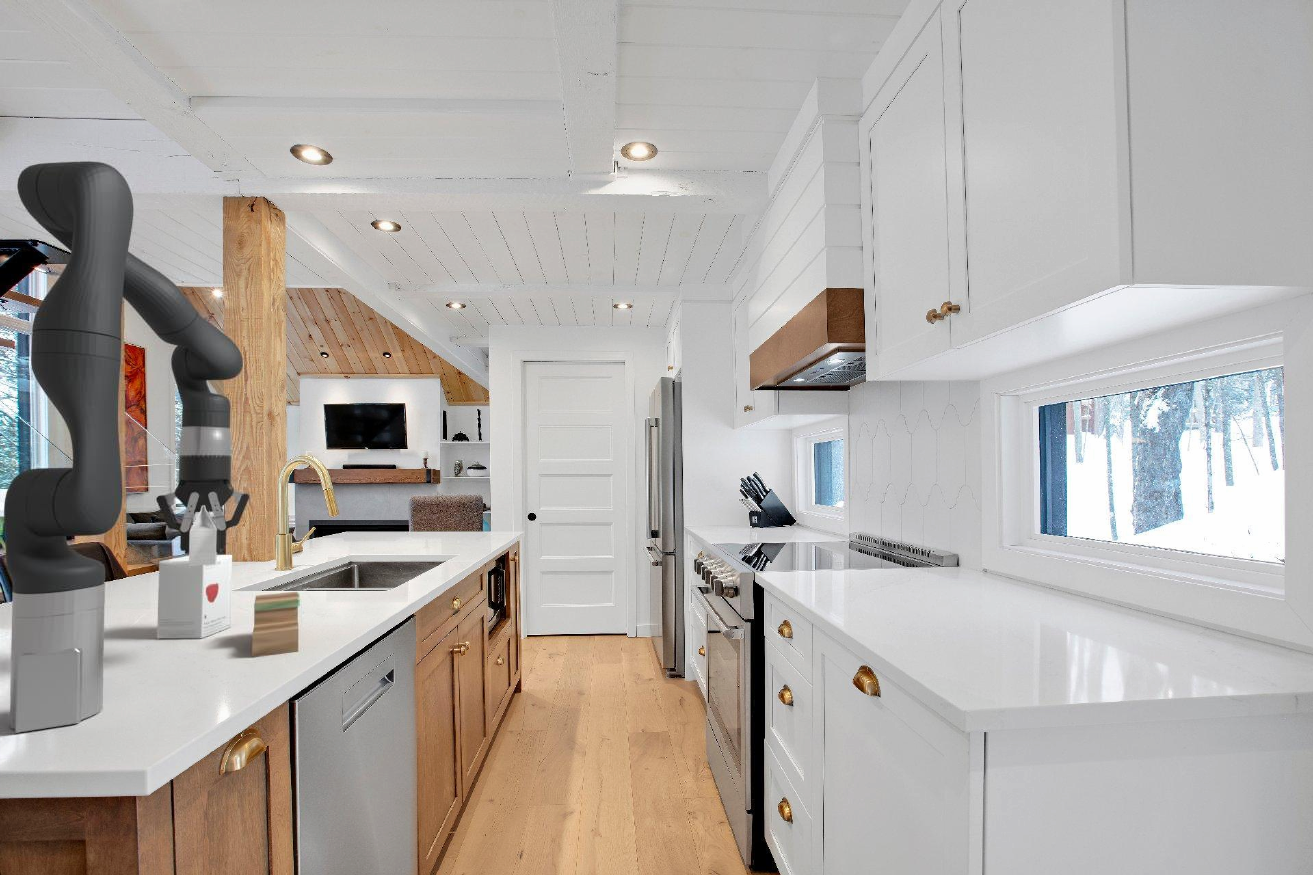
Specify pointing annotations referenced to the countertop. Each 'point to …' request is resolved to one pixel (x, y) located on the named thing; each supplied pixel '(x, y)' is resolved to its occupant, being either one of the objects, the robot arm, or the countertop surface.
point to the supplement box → (194, 598)
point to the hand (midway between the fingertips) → (203, 552)
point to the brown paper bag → (275, 624)
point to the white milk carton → (203, 540)
